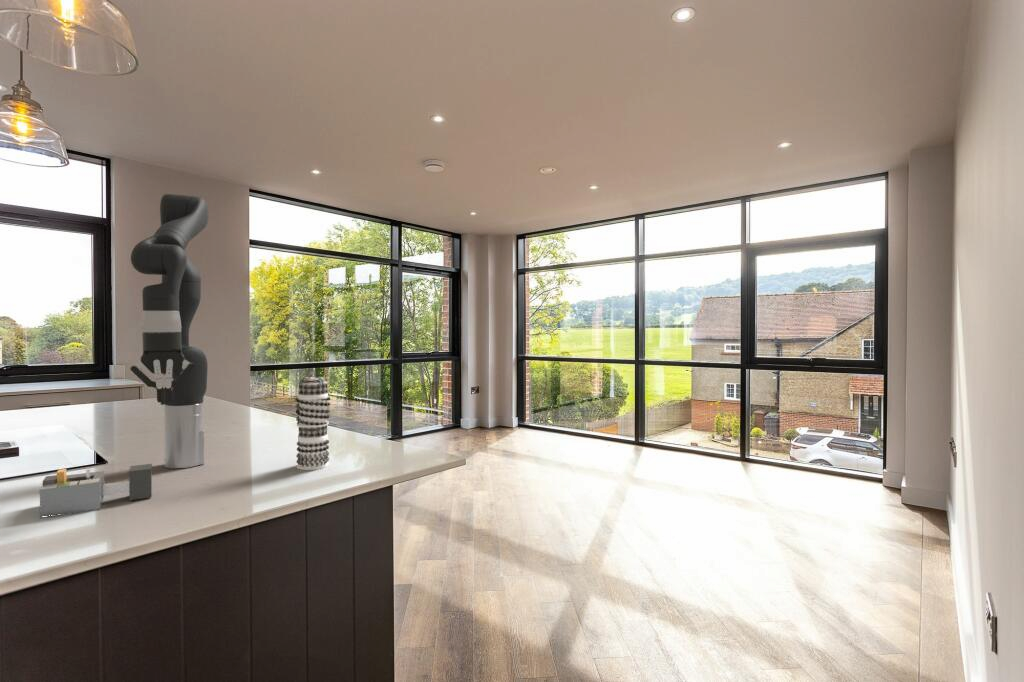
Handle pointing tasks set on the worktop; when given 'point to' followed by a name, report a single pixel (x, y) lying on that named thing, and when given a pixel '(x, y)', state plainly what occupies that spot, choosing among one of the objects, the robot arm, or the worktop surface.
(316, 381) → the decorative candle
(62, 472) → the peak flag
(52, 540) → the worktop surface
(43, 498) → the gauge housing
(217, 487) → the worktop surface
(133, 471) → the dark cube on shaft
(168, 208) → the robot arm
